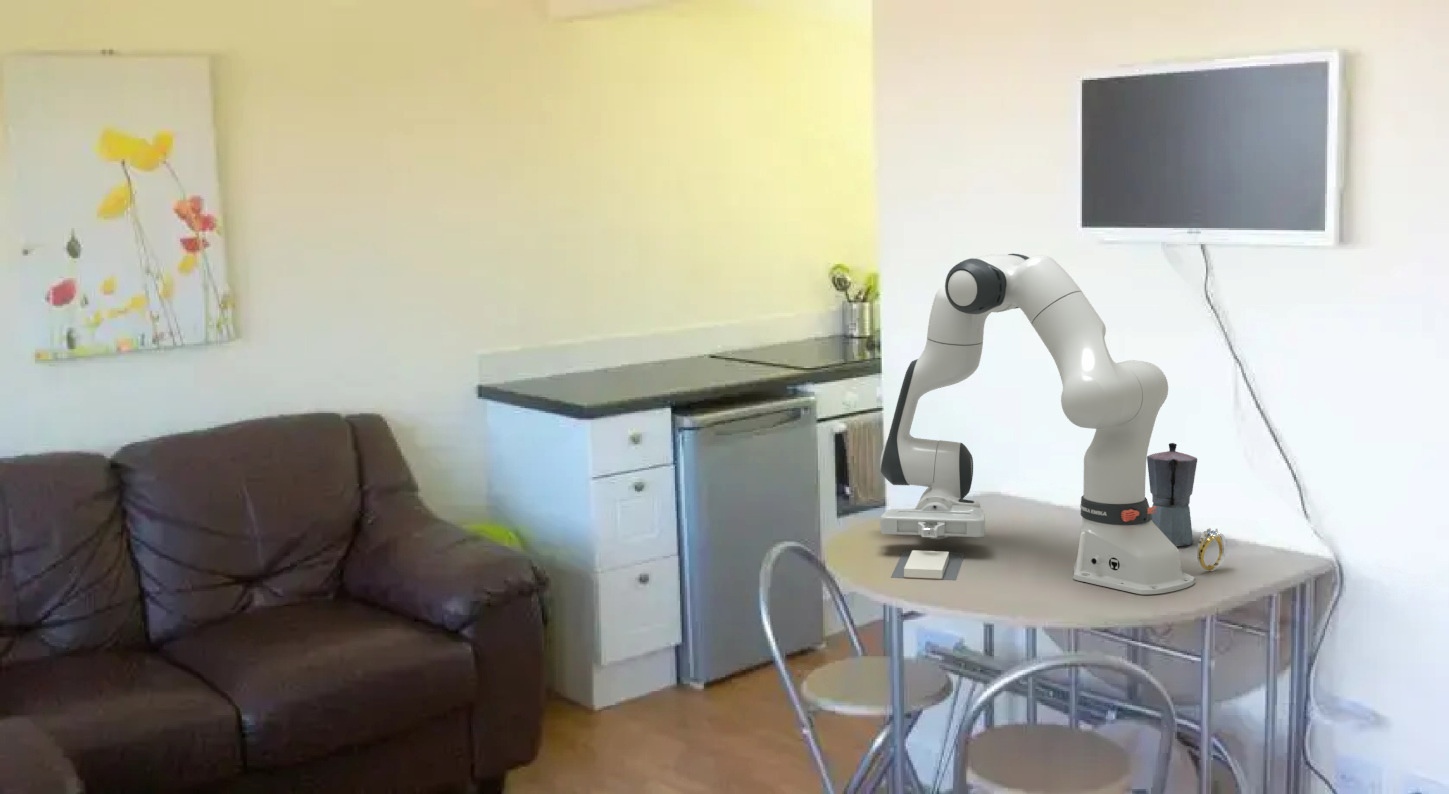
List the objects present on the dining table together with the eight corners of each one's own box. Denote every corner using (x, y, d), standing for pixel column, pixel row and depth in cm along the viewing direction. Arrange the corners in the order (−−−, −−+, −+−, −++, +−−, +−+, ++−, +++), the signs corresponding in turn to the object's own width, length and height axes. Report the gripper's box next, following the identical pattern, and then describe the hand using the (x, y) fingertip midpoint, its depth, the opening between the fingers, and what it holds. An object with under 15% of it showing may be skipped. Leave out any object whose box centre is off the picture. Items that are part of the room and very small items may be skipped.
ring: (1204, 575, 281) (1205, 533, 280) (1191, 572, 284) (1192, 529, 282) (1231, 570, 284) (1232, 528, 283) (1218, 566, 287) (1219, 524, 286)
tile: (912, 550, 295) (903, 568, 283) (948, 551, 293) (942, 570, 281) (912, 559, 295) (904, 578, 283) (949, 560, 294) (942, 579, 281)
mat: (903, 553, 302) (903, 550, 302) (964, 555, 299) (964, 553, 299) (890, 580, 284) (890, 577, 284) (955, 582, 281) (955, 580, 281)
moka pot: (1191, 534, 311) (1193, 437, 307) (1201, 554, 296) (1203, 452, 292) (1142, 533, 312) (1144, 436, 309) (1149, 553, 297) (1151, 452, 294)
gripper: (884, 499, 306) (874, 515, 293) (987, 501, 301) (982, 518, 288) (884, 529, 307) (874, 547, 294) (987, 533, 302) (982, 551, 289)
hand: (929, 533), depth 291 cm, fingers closed
